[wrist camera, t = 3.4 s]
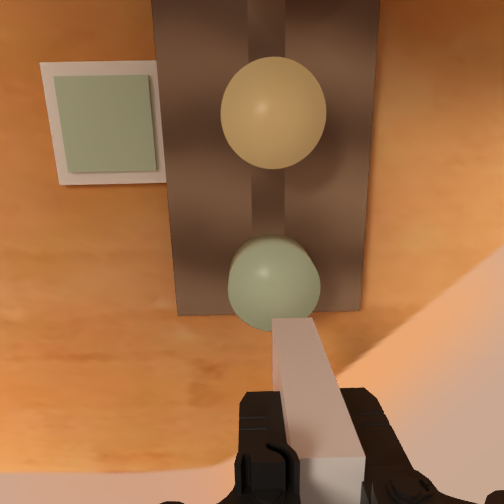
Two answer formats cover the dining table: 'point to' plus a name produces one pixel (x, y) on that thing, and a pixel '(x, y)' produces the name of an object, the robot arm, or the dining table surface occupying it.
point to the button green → (272, 281)
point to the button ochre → (273, 112)
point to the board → (252, 177)
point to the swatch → (105, 121)
